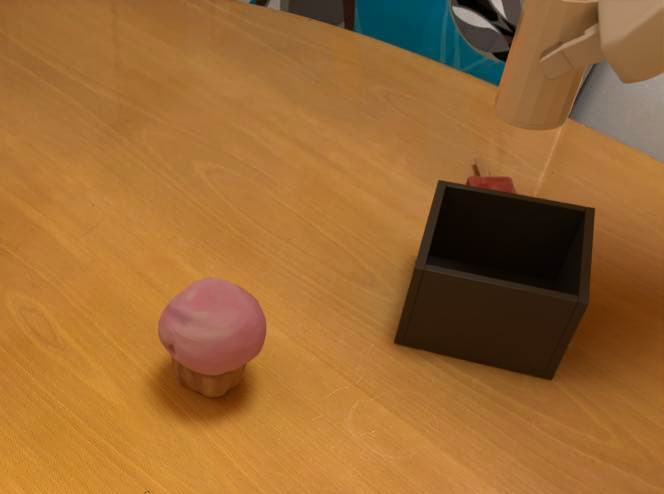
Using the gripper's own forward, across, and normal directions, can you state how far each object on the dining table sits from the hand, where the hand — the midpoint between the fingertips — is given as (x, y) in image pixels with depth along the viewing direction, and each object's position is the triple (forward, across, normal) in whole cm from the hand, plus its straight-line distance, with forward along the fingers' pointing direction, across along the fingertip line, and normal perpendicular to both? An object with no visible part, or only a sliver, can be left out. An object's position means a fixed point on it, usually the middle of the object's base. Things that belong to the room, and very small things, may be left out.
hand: (543, 47), depth 67 cm
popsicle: (+15, -14, +18) cm, 28 cm away
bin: (+15, +4, +18) cm, 24 cm away
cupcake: (+31, +19, +2) cm, 37 cm away
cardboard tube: (+3, 0, +4) cm, 5 cm away
